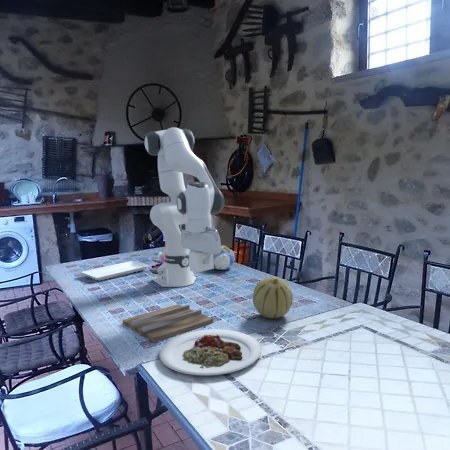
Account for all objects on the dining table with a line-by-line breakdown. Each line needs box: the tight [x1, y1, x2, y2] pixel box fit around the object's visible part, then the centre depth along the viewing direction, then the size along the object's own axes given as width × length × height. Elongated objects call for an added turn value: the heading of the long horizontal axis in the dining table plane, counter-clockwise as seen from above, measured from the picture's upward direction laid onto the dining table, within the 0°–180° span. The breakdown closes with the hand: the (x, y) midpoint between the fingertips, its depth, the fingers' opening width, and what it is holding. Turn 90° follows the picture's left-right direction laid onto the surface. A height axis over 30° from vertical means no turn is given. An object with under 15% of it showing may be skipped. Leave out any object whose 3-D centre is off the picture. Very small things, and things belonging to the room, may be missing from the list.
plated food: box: [158, 328, 262, 376], centre depth 125 cm, size 30×30×3 cm
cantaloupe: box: [252, 276, 294, 319], centre depth 152 cm, size 15×15×15 cm
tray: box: [80, 260, 150, 282], centre depth 221 cm, size 17×32×4 cm, turn 135°
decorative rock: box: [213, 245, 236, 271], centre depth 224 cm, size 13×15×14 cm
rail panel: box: [121, 303, 214, 343], centre depth 150 cm, size 22×24×3 cm
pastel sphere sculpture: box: [153, 244, 166, 264], centre depth 251 cm, size 25×24×9 cm
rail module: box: [189, 251, 215, 273], centre depth 157 cm, size 4×9×7 cm, turn 131°
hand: (201, 262), depth 157 cm, fingers closed on rail module, 4 cm apart
